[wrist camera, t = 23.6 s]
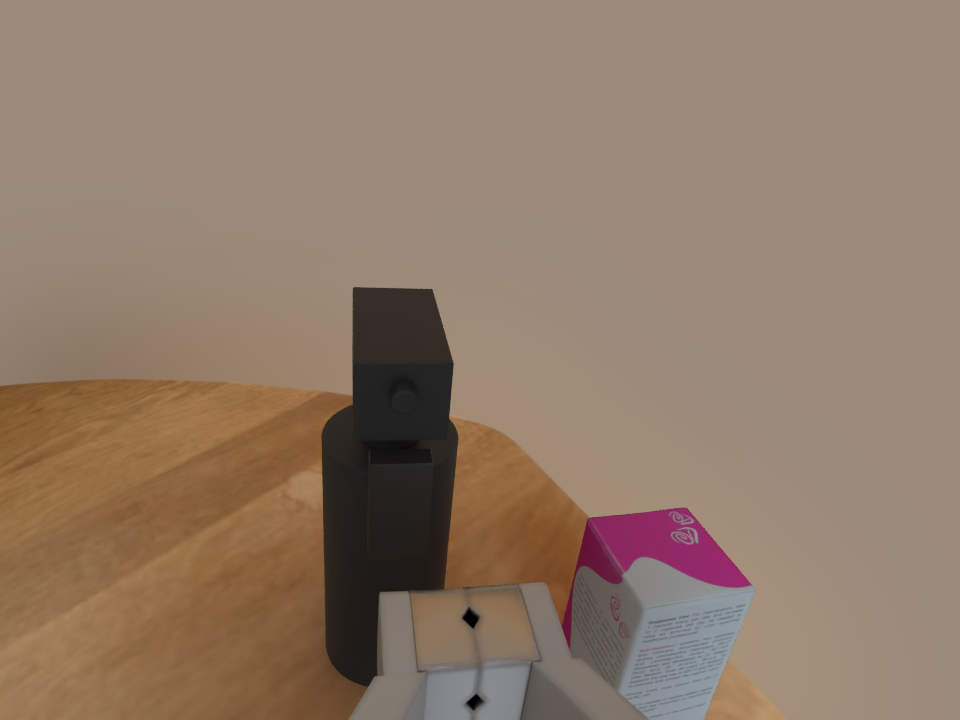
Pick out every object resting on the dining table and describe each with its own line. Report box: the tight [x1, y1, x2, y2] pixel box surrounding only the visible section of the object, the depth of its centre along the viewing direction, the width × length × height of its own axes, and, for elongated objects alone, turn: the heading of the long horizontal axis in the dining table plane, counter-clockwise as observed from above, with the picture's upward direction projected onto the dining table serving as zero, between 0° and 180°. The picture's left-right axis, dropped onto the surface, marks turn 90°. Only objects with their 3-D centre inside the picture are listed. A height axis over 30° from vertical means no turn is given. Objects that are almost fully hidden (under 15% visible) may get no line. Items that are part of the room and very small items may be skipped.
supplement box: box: [562, 508, 755, 720], centre depth 32 cm, size 6×6×12 cm
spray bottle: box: [322, 287, 458, 686], centre depth 32 cm, size 9×6×21 cm
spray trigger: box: [367, 448, 434, 560], centre depth 26 cm, size 1×2×5 cm, turn 100°
